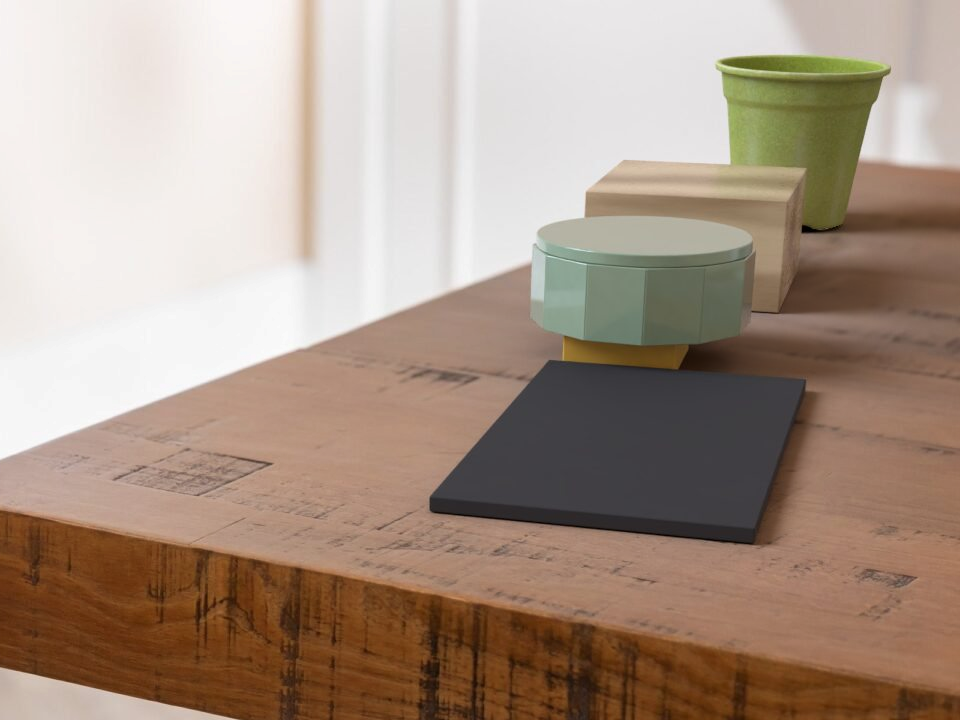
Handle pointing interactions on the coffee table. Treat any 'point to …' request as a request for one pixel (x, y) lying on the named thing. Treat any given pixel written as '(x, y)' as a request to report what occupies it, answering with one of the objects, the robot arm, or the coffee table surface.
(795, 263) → the block
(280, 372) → the coffee table surface
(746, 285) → the faceted mint tin
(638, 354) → the block
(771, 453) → the mat
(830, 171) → the plant pot
